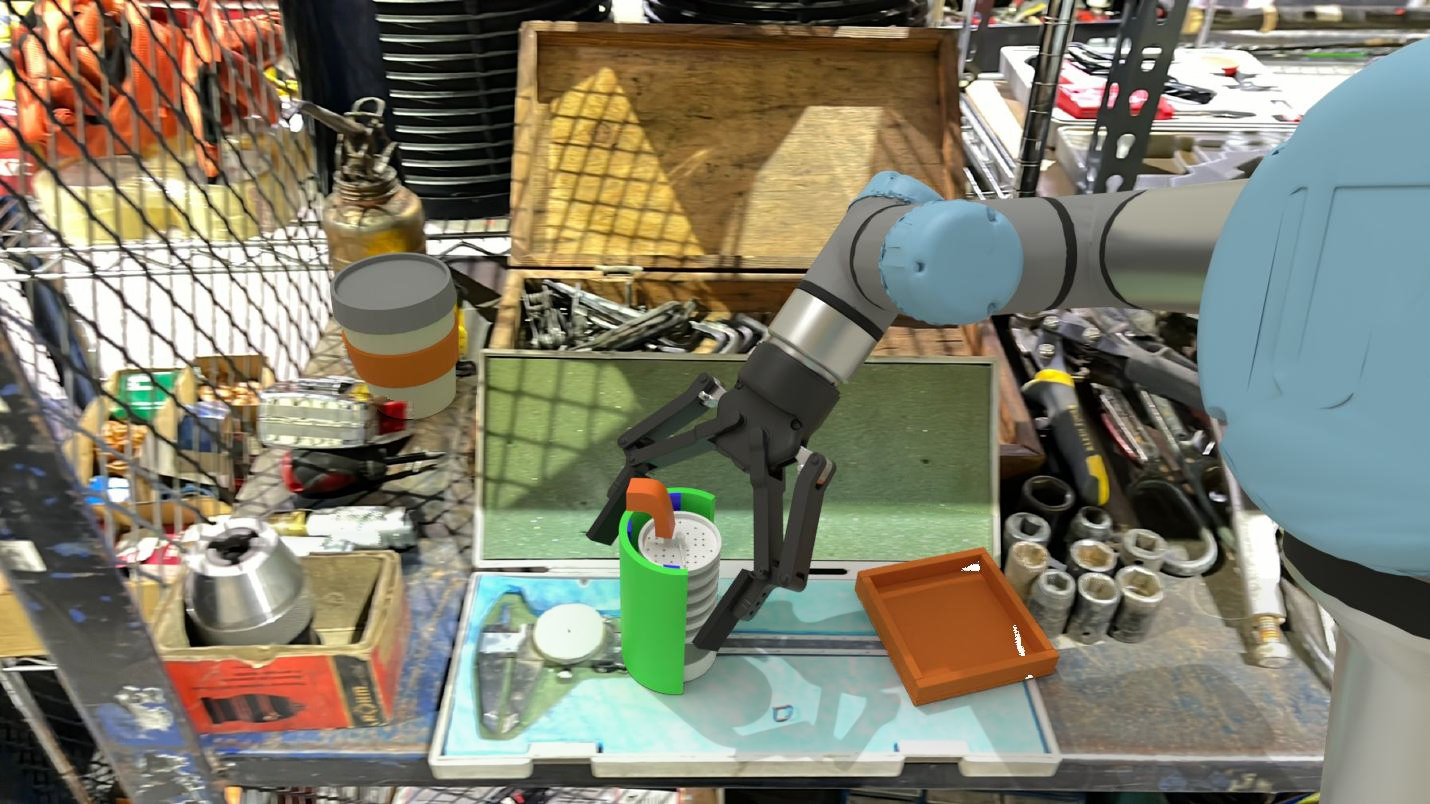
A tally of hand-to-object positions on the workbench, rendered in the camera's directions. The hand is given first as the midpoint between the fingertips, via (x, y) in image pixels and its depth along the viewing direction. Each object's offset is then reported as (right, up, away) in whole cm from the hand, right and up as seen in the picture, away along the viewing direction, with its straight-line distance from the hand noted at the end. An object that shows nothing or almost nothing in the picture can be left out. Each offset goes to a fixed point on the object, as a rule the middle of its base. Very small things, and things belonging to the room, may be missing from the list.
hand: (648, 591), depth 70 cm
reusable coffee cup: (-29, +15, +33) cm, 46 cm away
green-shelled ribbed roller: (+1, -6, +6) cm, 9 cm away
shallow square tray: (+26, -5, +9) cm, 27 cm away
